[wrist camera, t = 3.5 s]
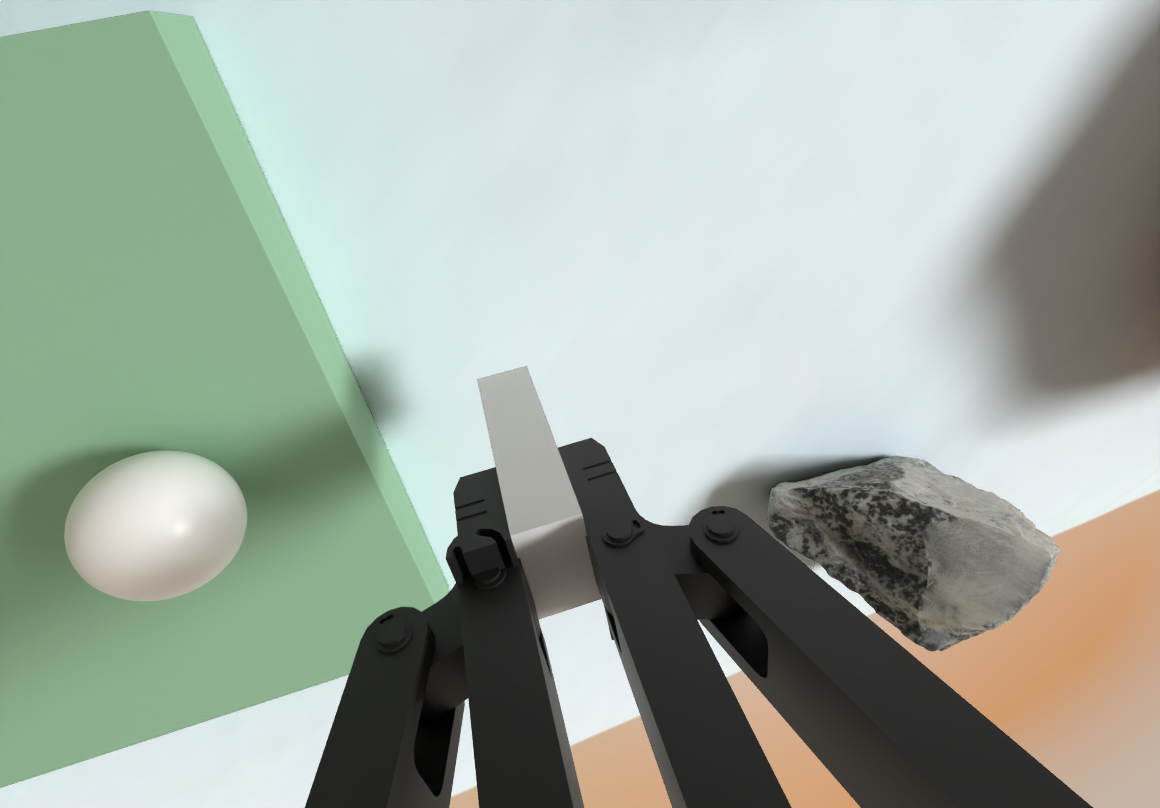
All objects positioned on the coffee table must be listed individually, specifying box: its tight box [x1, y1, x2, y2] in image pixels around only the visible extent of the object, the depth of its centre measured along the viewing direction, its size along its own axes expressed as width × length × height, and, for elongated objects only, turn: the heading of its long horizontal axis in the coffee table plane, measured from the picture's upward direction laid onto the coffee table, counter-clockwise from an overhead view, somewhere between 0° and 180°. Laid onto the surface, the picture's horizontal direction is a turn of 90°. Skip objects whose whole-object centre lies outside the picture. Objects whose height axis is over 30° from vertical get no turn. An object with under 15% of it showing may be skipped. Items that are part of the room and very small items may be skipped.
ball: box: [64, 450, 247, 601], centre depth 16 cm, size 4×4×4 cm
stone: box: [767, 456, 1061, 651], centre depth 27 cm, size 10×10×10 cm
